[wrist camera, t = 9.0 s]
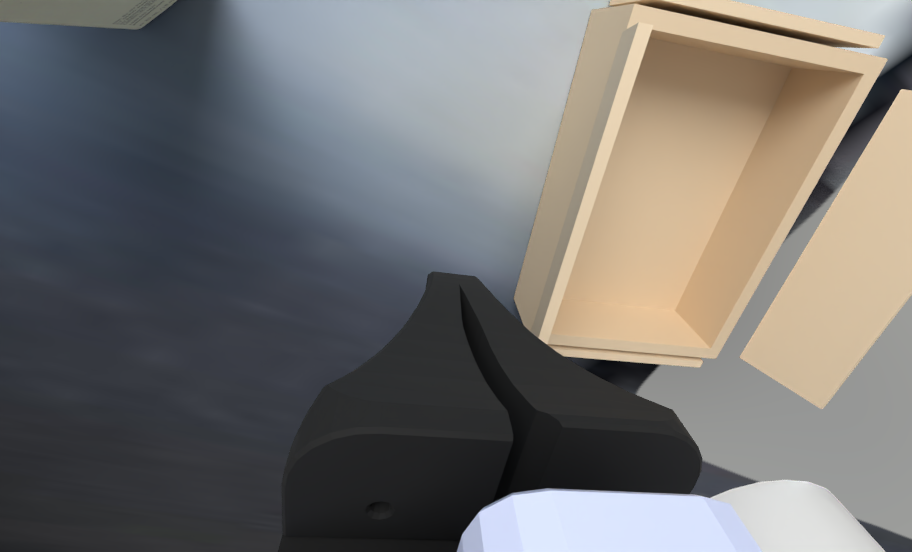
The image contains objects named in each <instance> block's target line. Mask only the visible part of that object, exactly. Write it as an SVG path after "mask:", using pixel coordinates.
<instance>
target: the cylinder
mask: <svg viewBox="0 0 912 552" xmlns="http://www.w3.org/2000/svg"><path fill="white" fill-rule="evenodd" d="M710 499H714V500H718V501H721V502H725V503H729V504H731V506H732V507H733V509H734V510H735V512H736V513H737V515H738V516H739V518H740V519H741V521H742V522H743V524H744V525H745V527H746V528H747V530H748V531H749V533H750V534H751V536H752V537H753V539H754V540H755V541H756V543H757V544H758V546H759V547H760V549H761V550H762V552H885V551H884V549H883V548H882V547H881V546H880V545H879V544H878V543H877V542H876V541H875V540H874V538H873V537H872V536H871V535H870V534H869V533H868V532H867V531H866V530H865V529H864V527H863V526H862V525H861V524H860V523H859V522H858V521H857V520H856V519H855V518H854V516H853V515H852V514H851V513H850V512H849V511H848V510H847V509H846V508H845V507H844V506H843V504H842V503H841V502H840V501H839V500H838V499H837V498H836V497H835V496H834V495H833V494H832V493H831V492H830V491H829V490H828V489H827V488H824V487H822V486H819V485H816V484H814V483H811V482H805V481H795V480H777V481H767V482H758V483H754V484H750V485H746V486H742V487H738V488H734V489H730V490H728V491H726V492H723V493H721V494H718V495H716V496H713V497H711V498H710Z"/></svg>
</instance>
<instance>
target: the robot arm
mask: <svg viewBox="0 0 912 552" xmlns="http://www.w3.org/2000/svg"><path fill="white" fill-rule="evenodd" d="M701 467H702V457H701V454H700V451H699V448H698V446H697V445H696V443H695V442H694V440H693V439H692V437H691V436H690V434H689V433H688V431H687V430H686V428H685V427H684V426H683V424H682V423H681V422H680V420H679V418H678V417H677V415H676V414H675V413H674V411H673V410H671V409H669V408H666V407H664V406H662V405H659V404H657V403H654V402H652V401H649V400H647V399H644V398H642V397H640V396H637V395H635V394H632V393H630V392H628V391H625V390H623V389H621V388H619V387H617V386H615V385H613V384H611V383H609V382H607V381H605V380H603V379H601V378H599V377H597V376H596V375H594V374H592V373H590V372H588V371H586V370H585V369H583V368H582V367H580V366H578V365H577V364H575V363H573V362H572V361H570V360H568V359H567V358H565V357H564V356H562V355H561V354H559V353H558V352H556V351H555V350H554V349H552V348H551V347H550V346H548V345H547V344H546V343H544V342H543V341H541V340H540V339H539V338H538V337H536V336H535V335H534V334H533V333H531V332H530V331H529V330H528V329H527V328H526V327H525V326H524V325H522V324H521V323H520V322H519V321H518V320H517V319H516V318H515V317H514V316H513V315H512V314H511V313H510V312H509V311H508V310H507V309H506V308H505V307H504V306H503V305H502V304H501V303H500V302H499V301H498V300H497V299H496V298H495V297H494V296H493V294H492V293H491V292H490V291H489V290H488V289H487V288H486V287H485V286H484V285H483V284H482V282H481V281H480V280H479V279H478V278H477V277H475V276H467V275H458V274H450V273H441V272H431V273H430V274H428V278H427V284H426V290H425V293H424V295H423V297H422V299H421V301H420V303H419V304H418V306H417V308H416V309H415V311H414V312H413V314H412V315H411V317H410V318H409V320H408V321H407V323H406V324H405V325H404V327H403V328H402V329H401V330H400V331H399V332H398V334H397V335H396V336H395V337H394V338H393V339H392V340H391V341H390V342H389V343H388V344H387V345H386V346H385V347H384V348H383V349H382V350H381V351H379V352H378V353H377V354H376V355H375V356H373V357H372V358H371V359H369V360H368V361H367V362H365V363H364V364H363V365H361V366H360V367H358V368H357V369H356V370H354V371H353V372H351V373H349V374H347V375H345V376H344V377H342V378H340V379H338V380H336V381H334V382H332V383H330V384H328V385H326V386H325V387H324V388H323V389H322V391H321V392H320V394H319V395H318V397H317V398H316V400H315V401H314V403H313V404H312V406H311V408H310V409H309V411H308V413H307V415H306V416H305V418H304V420H303V422H302V424H301V426H300V428H299V430H298V432H297V434H296V436H295V439H294V441H293V443H292V446H291V449H290V452H289V456H288V459H287V462H286V466H285V469H284V474H283V479H282V484H281V486H282V534H283V535H282V539H281V543H280V546H279V550H278V552H762V550H761V549H760V547H759V546H758V544H757V543H756V541H755V540H754V539H753V537H752V536H751V534H750V533H749V531H748V530H747V528H746V527H745V525H744V524H743V522H742V521H741V519H740V518H739V516H738V515H737V513H736V512H735V510H734V509H733V507H732V506H731V504H729V503H725V502H721V501H718V500H714V499H710V498H707V497H703V496H699V495H695V494H690V492H691V491H692V489H693V488H694V486H695V484H696V481H697V479H698V477H699V475H700V473H701Z"/></svg>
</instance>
